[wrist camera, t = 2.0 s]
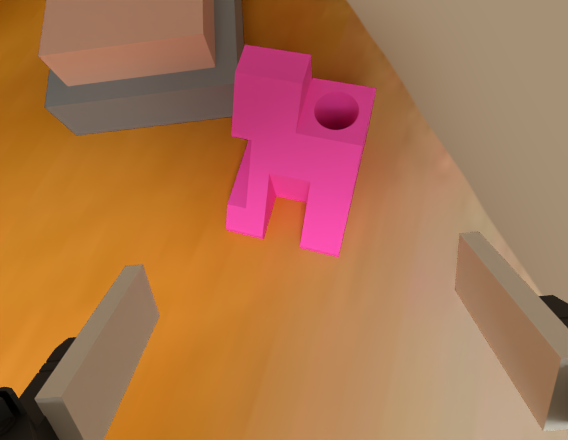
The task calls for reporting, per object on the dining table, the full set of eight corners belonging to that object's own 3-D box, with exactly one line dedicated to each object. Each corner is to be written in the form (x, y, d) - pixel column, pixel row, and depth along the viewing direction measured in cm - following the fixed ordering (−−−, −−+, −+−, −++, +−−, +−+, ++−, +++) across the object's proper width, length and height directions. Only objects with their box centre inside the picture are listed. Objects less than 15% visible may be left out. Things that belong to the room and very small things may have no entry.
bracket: (263, 119, 40) (245, 44, 30) (366, 138, 38) (381, 65, 28) (228, 231, 36) (193, 187, 26) (338, 257, 34) (344, 221, 25)
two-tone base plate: (76, 135, 41) (11, 79, 32) (91, -11, 47) (40, -91, 39) (248, 114, 40) (228, 50, 31) (239, -33, 46) (221, -119, 38)
